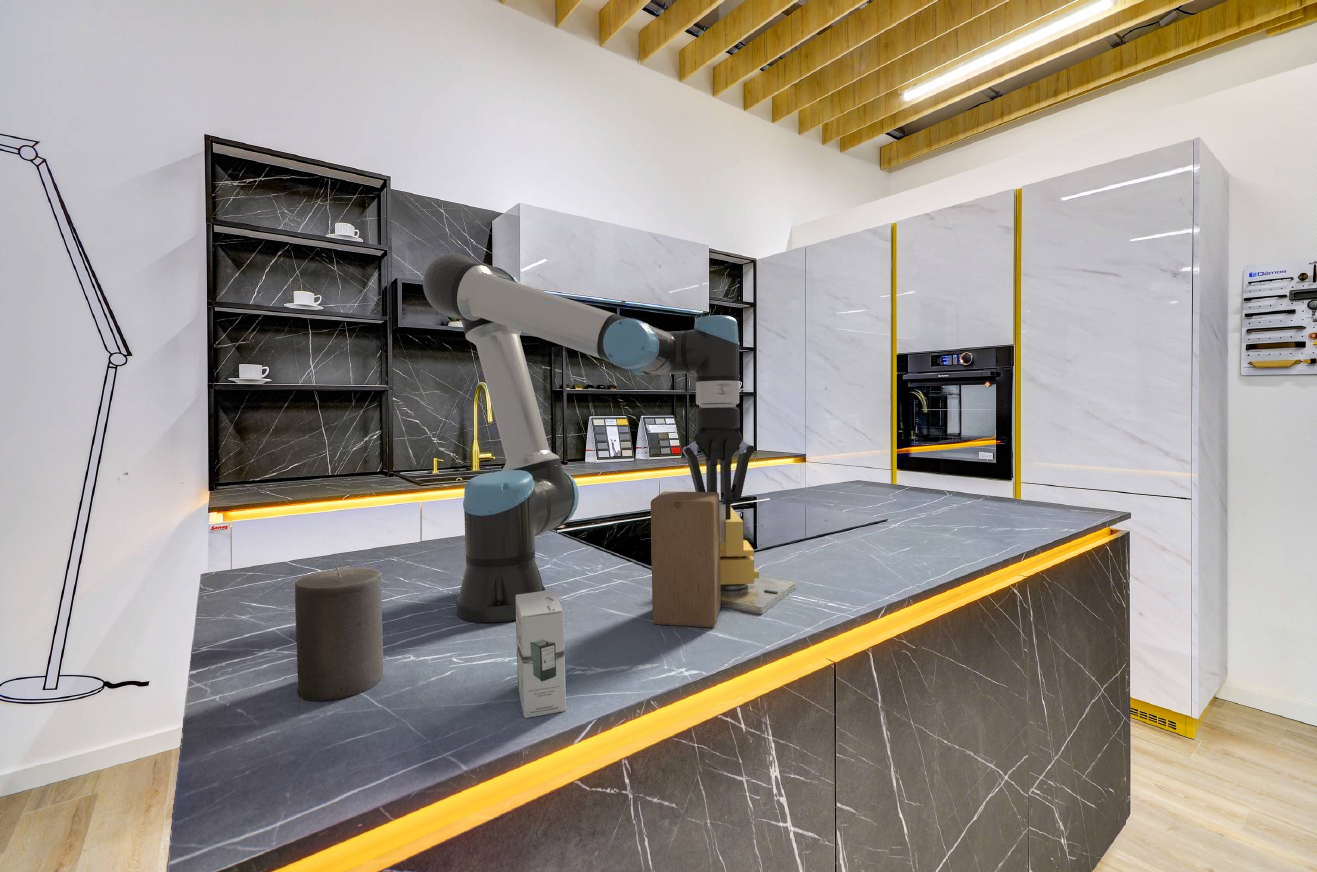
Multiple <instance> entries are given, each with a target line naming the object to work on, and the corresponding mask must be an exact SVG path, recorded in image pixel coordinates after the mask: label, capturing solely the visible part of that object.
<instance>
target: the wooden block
mask: <svg viewBox="0 0 1317 872" xmlns="http://www.w3.org/2000/svg"><path fill="white" fill-rule="evenodd" d="M719 502H720V493H719V492H718V491H717V492H707V491H706V492H696V491H668V490H667V491H666V490H665V491H663V492H661V493H660V494H658V495H657V496H656V497H654V498H653V499H652V500H651V501H650V537H651V538H650V541H651V542H650V543H651V547H650V548H651V549H650V552H651V599H652V602H651V604H652V606H651V607H652V608H651V609H652V623H653V625H665V626H666V625H667V626H683V627H697V628H698V627H700V628H715V627H716V623H717V619H718V615H719V613H720V609H721V607H722V606H721V591H720V508H719Z"/></svg>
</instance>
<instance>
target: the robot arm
mask: <svg viewBox="0 0 1317 872" xmlns="http://www.w3.org/2000/svg"><path fill="white" fill-rule="evenodd" d="M422 279H423V280H422V289H423V293H424V295H425V297H426V300H427V301H428V303H429V305H431V307H432V308H434V310H436V311H437V312H439V313H440V314H442V315H444V316H446V317H449V318H452V319H455V320H459V321H461V325H462V328H463V331H464V335H465V339H466V340H467V341H469V342H470V343H473V344H474V345H475V346H476V350H477V353H478V357H479V361H480V366H481V370H482V372H483V373H482V374H483V377H484V381H485V385H486V389H487V391H488V392H487V393H488V395H489V399H490V404H491V408H492V411H493V415H494V419H495V423H496V427H497V431H498V435H499V438H500V443H501V446H502V451H503V454H504V457H505V461H506V462H505V464H504V466H503V468H502V470H498V471H497V470H496V471H494V472H487V473H483V474H479V475H477V476H474V477H472V478H471V479H470V480H468V481H467V482H466V484H465V485H464V493H463V494H464V497H463V498H464V499H463V501H462V507H463V511H464V512H463V513H464V535H465V540H464V541H465V565H466V566H465V570H464V573H463V578H462V580H461V586H460V589H459V590H460V591H459V593H458V596H457V597H456V614H457V616H458V617H459V618H461V619H463V620H465V621H470V622H473V623H501V622H509V621H511V622H512V621H516V595H518V594H526V593H533V592H540V591H546V590H547V589H546V587H545V586H544V585H543V579H542V577H541V574H540V570H539V568H538V565H537V562H536V539H535V538H536V536H540V535H542V534H544V533H546V532H550V531H554V530H556V529H558V528H560V527H562V525H565V524H566V523H567V522H568V521H570V520H571V518H573V516H574V514H575V513H576V511H577V508H578V506H579V499H580V497H579V496H580V494H579V493H580V492H579V487H578V485H577V483H576V480H575V479H574V478H573V476H572V475H570V474H568V472H567V471H565V470H564V468H563V465H562V462H561V458H560V456H559V455H558V454H555V453H554V452H552V451H551V450H550V446H549V443H548V439H547V435H546V432H545V429H544V428H545V427H544V424H543V421H542V416H541V413H540V409H539V406H538V401H537V398H536V394H535V390H534V387H533V382H532V379H531V375H530V372H529V367H528V364H527V360H526V355H525V353H524V349H523V346H522V341H521V338H520V336H521V333H525V334H529V335H531V336H533V337H538V338H540V339H543V340H545V341H549V342H552V343H555V344H557V345H561V346H564V347H566V348H570V349H573V350H575V351H578V352H581V353H583V354H586V355H589V356H592V357H596V358H599V359H602V360H604V361H606V362H610V363H612V364H614V366H615V365H616V366H617V367H618V368H621V369H625V370H628V371H631V372H632V373H633V374H635V375H636V376H637V375H638V376H650V377H651V376H656V375H658V376H659V375H676V374H678V375H679V374H695V404H696V405H698V406H699V407H698V408H697V410H696V411H695V412H696V413H695V414H696V422H695V423H696V425H695V426H696V433H695V436H694V438H693V441H692V442H691V443H690V444H689V445H687V446H683V447H682V448H681V452H682V454H683V455H684V457H685V458H686V461H687V463H688V468H689V471H690V474H691V479H692V483H693V486H694V490H695V491H694V492H717V493H718V464H719V471H720V473H719V475H720V478H719V479H720V501H719V508H720V542H725V520H727V519H731V507H732V506H731V505H732V504H733V502H734V501H738V500H741V499H742V495H743V489H744V486H745V481H746V478H747V477H746V476H747V471H748V468H749V467H748V466H749V463H750V458H752V455H753V454H754V452H755V450H756V448H755V446H754V445H751V444H749V443H747V442H746V441H744V440H743V436H742V434H741V432H740V427H741V421H740V420H741V419H740V418H741V417H740V416H741V415H740V410H741V409H739V407H737V405H738V404H739V403H740V377H739V376H740V342H739V329H738V328H739V327H738V321H737V320H736V318H734V317H732V316H730V315H719V314H718V315H717V314H715V315H713V314H712V315H707V316H701V317H697V318H696V319H695V321H694V327H693V329H690V330H689V329H688V330H680V331H678V330H677V331H665V330H663V329H659V328H658V327H655V326H652V325H650V324H648V322H647V323H646V322H645V321H642V320H639V319H637V318H630V317H625V316H622V315H618V314H616V313H614V312H610V311H608V310H605V309H601V308H597V307H595V306H592V305H588V304H585V303H582V302H579V301H576V300H572V299H570V298H567V297H563V296H560V295H556V294H553V293H551V292H547V291H544V290H541V289H538V288H535V287H531V286H528V285H526V284H522V283H521V282H520V280H518V278H516V277H515V276H514V275H512V274H511V273H509V272H508V271H506V270H505V269H503V268H502V267H501V268H500V267H497V266H493V265H489V264H487V263H484V262H482V261H479V260H477V259H475V258H472V257H471V256H467V255H465V254H459V253H448V254H447V253H446V254H442V255H440V256H438V257H436V258H435V259H434V260H432V261H431V263H429V264H428V266H427V268H426V270H425V271H424V274H423V277H422ZM698 450H699V452H700V453H701V454H702V455H703V457H704V458H705V468H706V469H705V470H706V471H705V472H706V475H705V476H706V487H705V483H704V479H703V475H702V471H701V468H700V463H699V460H698V458H697V455H698ZM737 450H738V453H739V454H738V457H737V461H736V466H735V470H734V471H735V472H734V474H733V475H734V476H733V479H732V465H733V461H732V460H733V456H734V454H735V453H736V452H737ZM718 462H719V463H718Z"/></svg>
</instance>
